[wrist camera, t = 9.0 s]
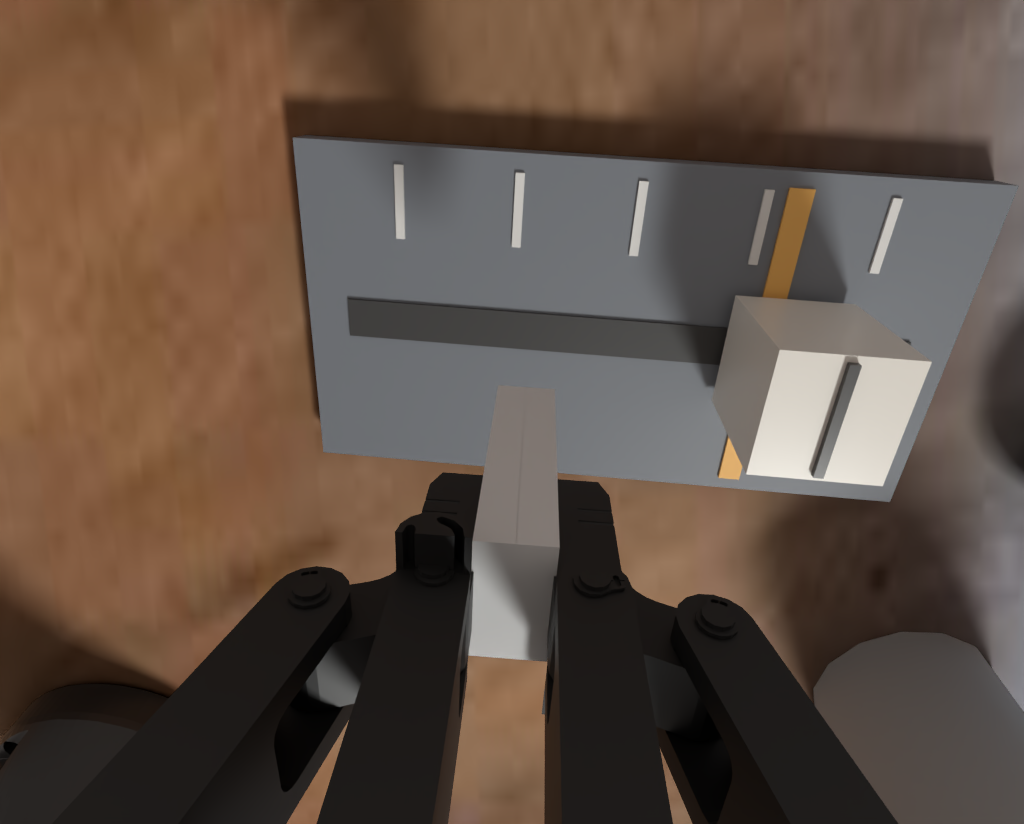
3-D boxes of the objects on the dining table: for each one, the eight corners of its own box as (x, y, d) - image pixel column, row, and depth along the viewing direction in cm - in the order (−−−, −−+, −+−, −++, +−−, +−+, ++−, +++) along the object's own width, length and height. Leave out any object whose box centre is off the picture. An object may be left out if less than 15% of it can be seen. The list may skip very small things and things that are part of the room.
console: (332, 437, 27) (322, 453, 26) (306, 135, 22) (291, 137, 20) (876, 485, 26) (891, 503, 25) (995, 180, 21) (1021, 186, 19)
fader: (711, 400, 23) (747, 477, 19) (735, 295, 21) (782, 352, 17) (821, 409, 23) (885, 490, 18) (855, 304, 21) (935, 364, 17)
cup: (857, 616, 29) (983, 843, 21) (1027, 649, 30) (1224, 889, 21) (788, 729, 33) (868, 961, 25) (938, 758, 34) (1071, 999, 25)
